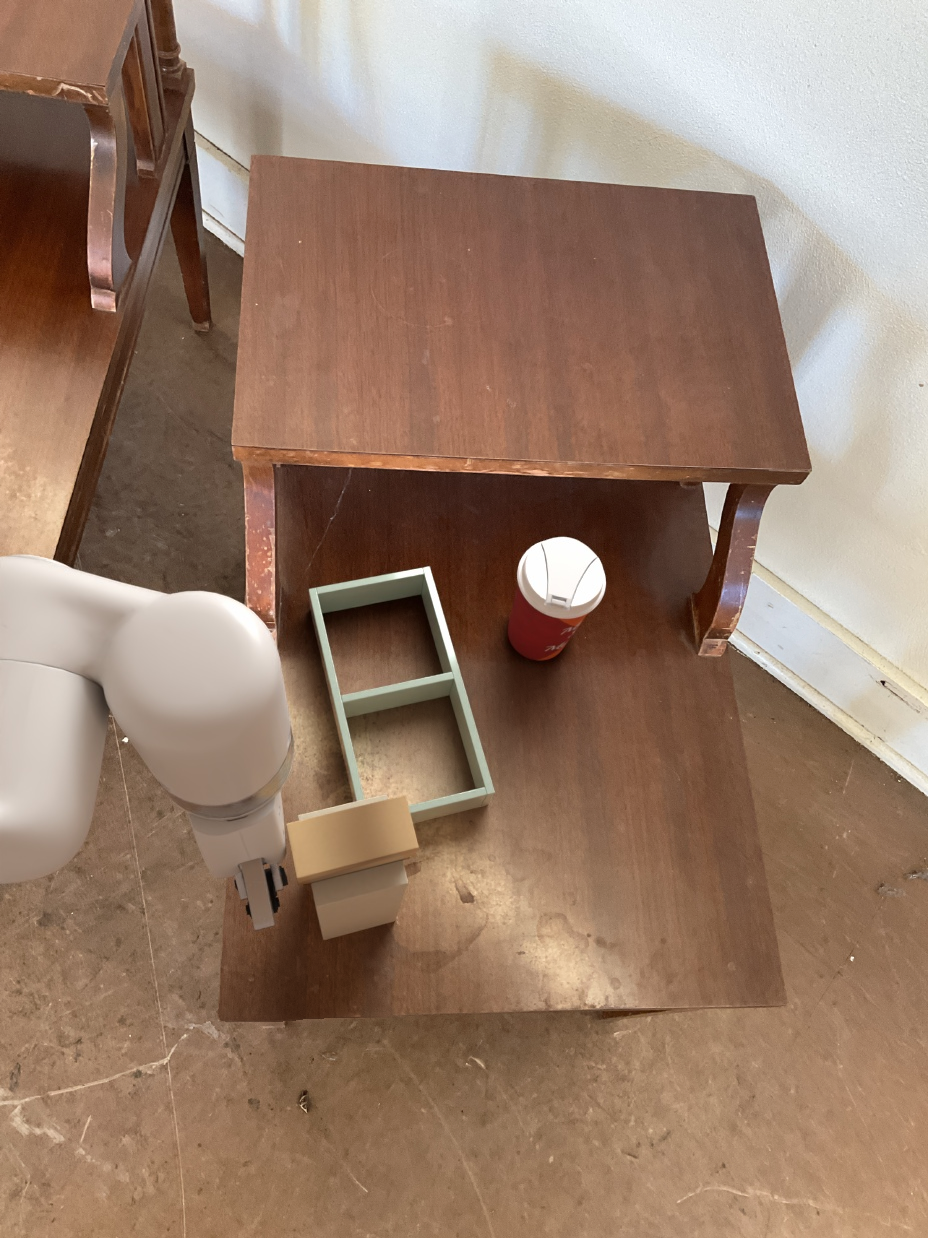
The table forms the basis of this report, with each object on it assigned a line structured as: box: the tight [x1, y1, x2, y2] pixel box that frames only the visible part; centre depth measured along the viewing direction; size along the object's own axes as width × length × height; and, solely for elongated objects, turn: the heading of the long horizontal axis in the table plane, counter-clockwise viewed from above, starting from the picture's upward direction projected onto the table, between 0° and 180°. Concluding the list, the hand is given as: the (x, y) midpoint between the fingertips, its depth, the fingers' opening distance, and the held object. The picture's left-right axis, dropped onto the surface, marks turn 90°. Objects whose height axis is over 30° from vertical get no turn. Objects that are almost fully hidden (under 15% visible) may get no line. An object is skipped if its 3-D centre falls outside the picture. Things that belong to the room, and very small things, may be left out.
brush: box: [285, 794, 420, 886], centre depth 57 cm, size 8×3×4 cm, turn 105°
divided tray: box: [308, 565, 496, 824], centre depth 82 cm, size 11×22×6 cm, turn 15°
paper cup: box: [507, 536, 607, 661], centre depth 83 cm, size 8×8×14 cm
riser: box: [297, 794, 409, 941], centre depth 68 cm, size 6×6×20 cm
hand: (252, 818), depth 65 cm, fingers open, 9 cm apart
